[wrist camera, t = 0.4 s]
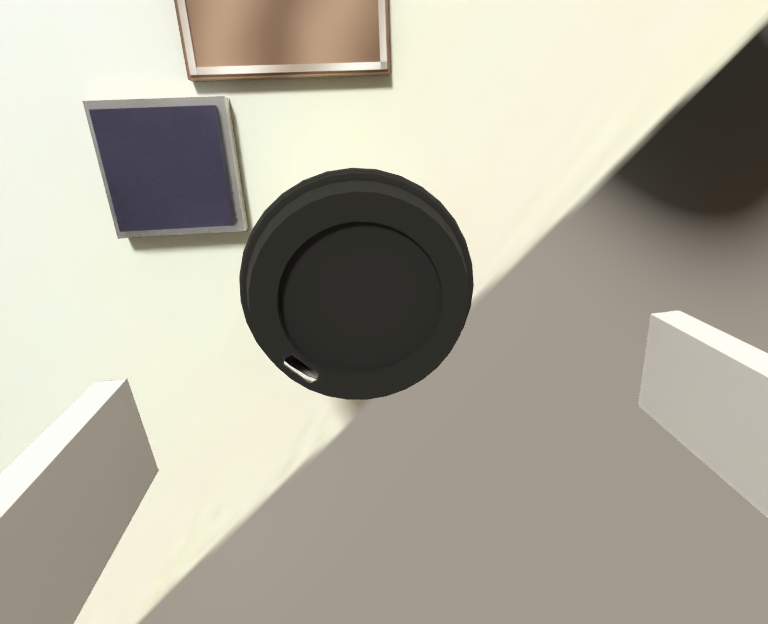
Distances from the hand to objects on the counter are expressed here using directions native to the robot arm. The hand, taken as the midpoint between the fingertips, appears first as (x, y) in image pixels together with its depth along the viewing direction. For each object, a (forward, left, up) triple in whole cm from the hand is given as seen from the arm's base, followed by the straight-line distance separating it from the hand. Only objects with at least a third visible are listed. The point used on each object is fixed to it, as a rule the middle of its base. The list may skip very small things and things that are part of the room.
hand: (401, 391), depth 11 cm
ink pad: (-12, +5, -21) cm, 25 cm away
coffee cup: (-1, 0, -21) cm, 22 cm away
